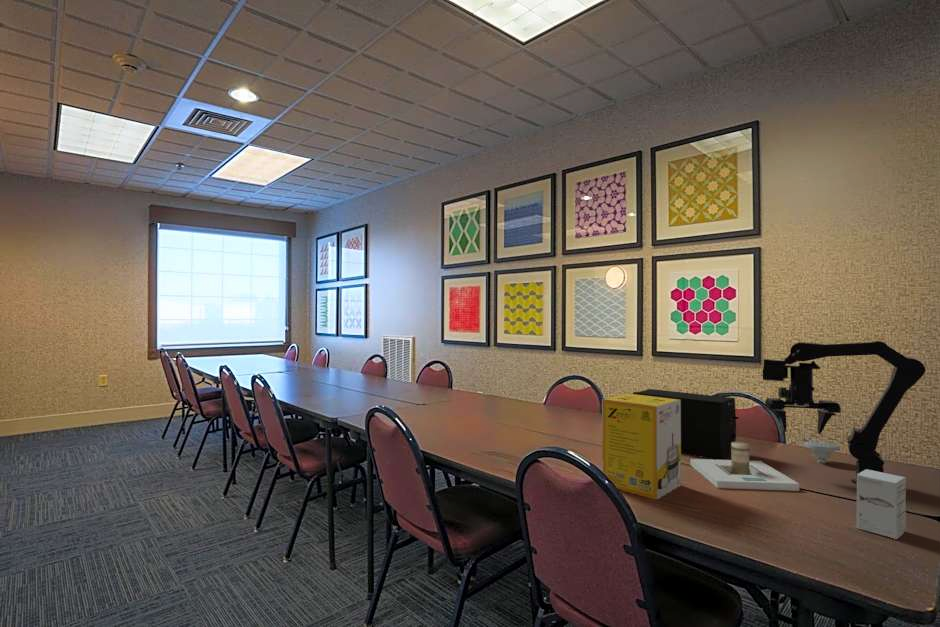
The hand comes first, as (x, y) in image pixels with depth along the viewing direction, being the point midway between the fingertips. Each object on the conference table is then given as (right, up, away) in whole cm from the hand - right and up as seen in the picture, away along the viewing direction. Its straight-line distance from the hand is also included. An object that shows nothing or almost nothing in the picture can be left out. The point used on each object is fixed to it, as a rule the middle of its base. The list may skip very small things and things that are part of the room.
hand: (801, 432), depth 149 cm
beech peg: (-20, -13, -2) cm, 24 cm away
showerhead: (+16, -13, +13) cm, 24 cm away
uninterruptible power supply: (-23, -14, +30) cm, 40 cm away
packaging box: (-53, -13, -10) cm, 56 cm away
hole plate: (-20, -13, -2) cm, 24 cm away
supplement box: (-9, -13, -39) cm, 42 cm away
